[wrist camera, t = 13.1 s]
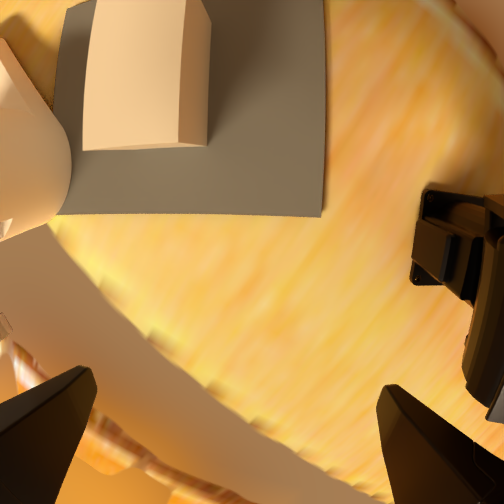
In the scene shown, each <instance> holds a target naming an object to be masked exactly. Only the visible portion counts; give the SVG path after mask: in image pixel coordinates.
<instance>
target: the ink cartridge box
mask: <svg viewBox="0 0 504 504" xmlns="http://www.w3.org/2000/svg"><path fill="white" fill-rule="evenodd" d="M12 331H13V329H12V328H11V326H10V325H9V323H8V321H7V319H6V318H5V316H4V314H3V313H0V341H1V340H3V339H4V338H5V337H6V336H8V335H9V334H10V333H11V332H12Z"/></svg>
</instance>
